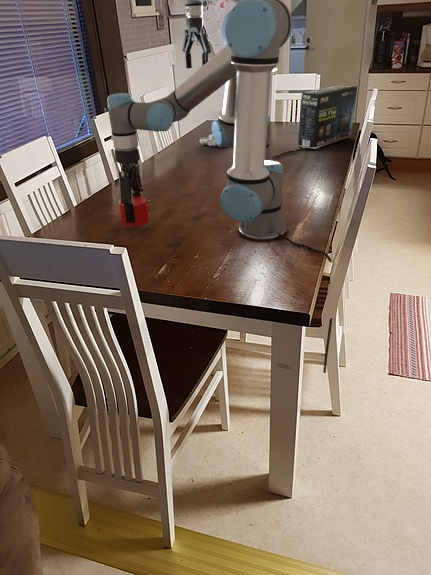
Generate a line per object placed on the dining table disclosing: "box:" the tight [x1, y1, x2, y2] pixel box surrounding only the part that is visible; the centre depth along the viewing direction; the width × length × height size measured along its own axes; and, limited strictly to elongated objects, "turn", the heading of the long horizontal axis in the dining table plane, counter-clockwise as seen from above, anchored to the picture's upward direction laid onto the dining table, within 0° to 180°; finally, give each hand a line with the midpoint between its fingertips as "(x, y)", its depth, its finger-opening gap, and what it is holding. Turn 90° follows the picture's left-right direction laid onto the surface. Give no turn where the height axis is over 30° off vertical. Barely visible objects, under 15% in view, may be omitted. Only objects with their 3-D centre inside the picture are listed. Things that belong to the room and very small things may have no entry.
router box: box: [297, 84, 358, 151], centre depth 238 cm, size 36×11×27 cm, turn 134°
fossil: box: [199, 133, 222, 148], centre depth 250 cm, size 18×11×15 cm
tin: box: [118, 195, 150, 227], centre depth 152 cm, size 9×9×7 cm
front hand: (134, 216), depth 153 cm, fingers closed on tin, 9 cm apart
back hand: (197, 69), depth 217 cm, fingers open, 13 cm apart
